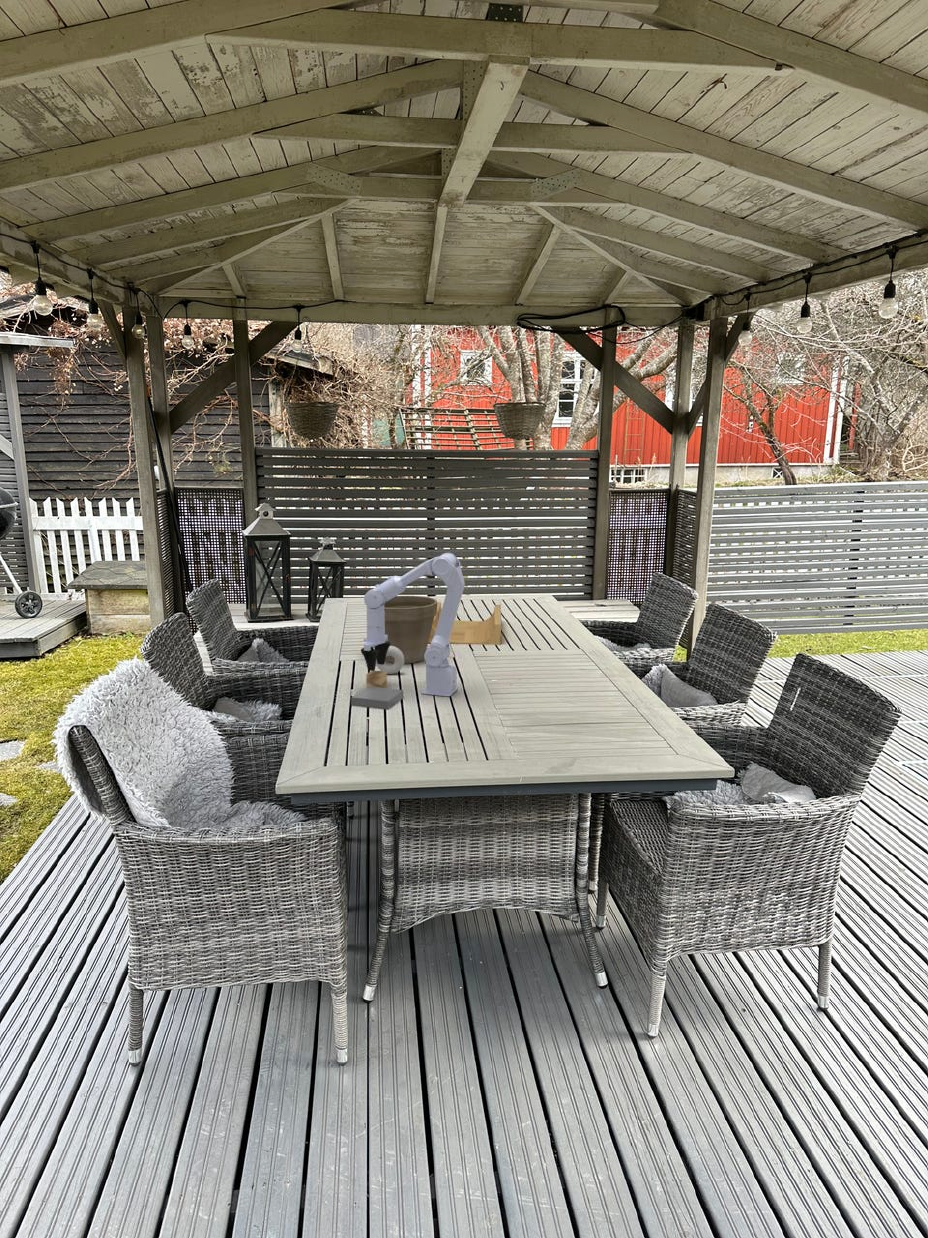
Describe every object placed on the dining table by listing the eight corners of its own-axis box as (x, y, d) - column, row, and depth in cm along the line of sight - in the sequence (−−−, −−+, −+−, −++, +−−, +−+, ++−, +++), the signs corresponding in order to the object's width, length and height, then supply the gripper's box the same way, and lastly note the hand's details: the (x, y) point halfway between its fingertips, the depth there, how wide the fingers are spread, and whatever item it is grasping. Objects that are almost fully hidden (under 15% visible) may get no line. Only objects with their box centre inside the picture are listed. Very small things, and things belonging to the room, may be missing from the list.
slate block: (403, 699, 246) (403, 690, 245) (388, 711, 235) (388, 701, 234) (368, 695, 249) (368, 686, 249) (351, 706, 238) (351, 697, 238)
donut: (374, 675, 270) (374, 646, 268) (376, 672, 273) (375, 644, 271) (404, 675, 270) (403, 647, 267) (405, 672, 273) (404, 644, 271)
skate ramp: (500, 648, 313) (502, 608, 310) (411, 644, 314) (412, 604, 311) (499, 625, 352) (501, 590, 349) (420, 622, 353) (421, 586, 350)
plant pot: (355, 662, 286) (354, 603, 281) (392, 647, 307) (392, 592, 303) (415, 671, 275) (414, 610, 270) (449, 655, 296) (449, 598, 291)
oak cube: (386, 686, 257) (386, 671, 256) (380, 690, 253) (380, 675, 252) (372, 685, 259) (372, 670, 258) (366, 689, 254) (366, 674, 253)
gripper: (373, 620, 259) (373, 660, 262) (354, 629, 246) (355, 672, 249) (393, 622, 257) (393, 662, 260) (375, 631, 244) (375, 674, 247)
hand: (376, 667), depth 254 cm, fingers open, 7 cm apart
